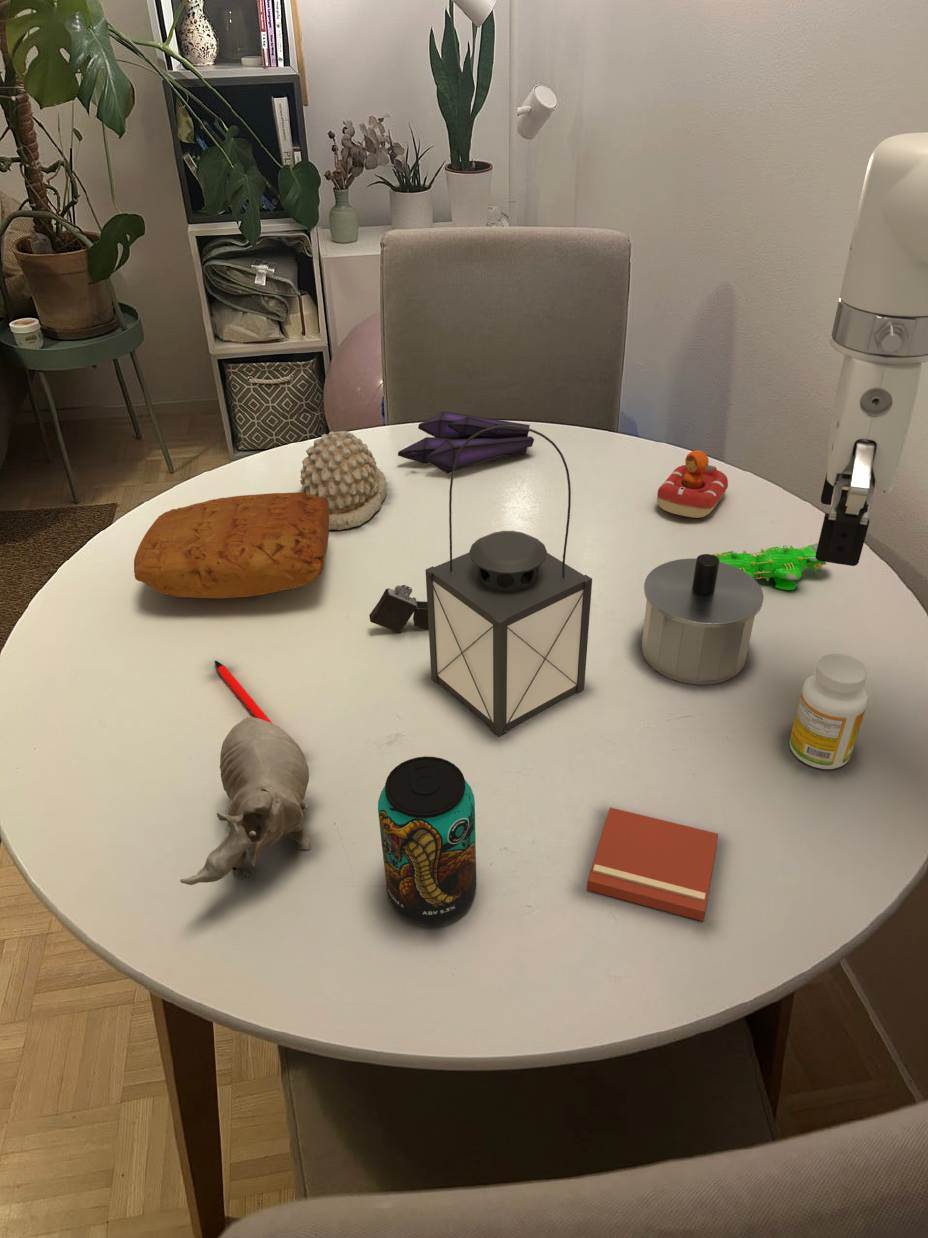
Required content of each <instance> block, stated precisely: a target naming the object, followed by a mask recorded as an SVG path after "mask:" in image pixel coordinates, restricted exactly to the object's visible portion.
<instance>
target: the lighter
mask: <svg viewBox="0 0 928 1238" xmlns="http://www.w3.org/2000/svg"><path fill="white" fill-rule="evenodd" d="M412 593H413V588H412V587H411V586H408V585H406V584H402V585H396V586H395V587H394V589H393V588H390V587H388V588H386V589H385V590H384V592H383V593H382V595H381V597H380V599H379V601H378V602H377V603H376V605H375V606H374V607H373V609H372V610H371V612H370V613H369V615H368V616H369V622H370V623H372V624H375V625H378V626H380V627H383V628H385V629H388V630H391V631H393V632H396V633H397V634H400V633H401V632H402V631H403V629H404V628H405V626H406V625H407V624H408V622H409V620H410V619H411V618H412V621H413V626H415V627H417V628H421V629H428V630H429V625H428V607H427V600H426V601H421V600H420V601H419V600H417V598H416V597H411V594H412ZM412 616H413V617H412Z"/></svg>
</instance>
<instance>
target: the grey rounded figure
mask: <svg viewBox="0 0 928 1238" xmlns="http://www.w3.org/2000/svg"><path fill="white" fill-rule="evenodd" d="M219 755H220V756H219V758H220V759H219V760H220V762H219V764H220V765H219V769H220V779H221V785H222V788H223V790H224V791H225V793H226V796H227V797H228V799H229V800H230V804H229V806H228V808H227V814H225V813H223V812H217V813H216V817H217V818H218V820H219V821H221V822H226V825H227V827H228V833H227V835H226V837H225V839H224V840H223V841H222V842H221V843H220V844H219V845H218V846H217V847H216V848H214V849H213V850H211V852H210V853H209V854H208V856H207V857H206V860H205V863H204V865H203V867H202V868H201V869H200V870H199V871H198V872H197V874H194V875H191V876H189V877H187V878H180V880H179V882H180V883H181V884H185V885H189V886H194V885H196V884H200V883H214V882H217V881H219V880H221V879H223V878H225V876H228V874H229V873H230V872H231V873H232V874H233V875H234V876H235V878H236V879H239V880H241V879H242V880H243V879H250V877H249V876H248V875H250V874H251V873H250V872H249V871H247V869H245V867H244V864H245V861H246V859H247V853H248V857H249V860H250V862H251V864H252V866H253V867H255V866H256V864H257V862H258V860H259V857H260V855H261V852H262V850H263V849H265V848H268V847H271V846H272V845H274V844H275V843H277V842H278V841H279V840H280V839H281V838H282V836H283V835H284V834H289V833H290V835H291V836H290V837H291V839H292V840H293V841H296V842H297V843H298V844H297V845H295V848H296V849H297V850H311V849H312V843H311V839H309V837H307V835H306V833H305V832H304V830H305V827H304V826H303V822H304V813H305V812H306V810H307V809H308V807H309V805H308V803H306V801H304V799H305V797H306V792H307V790H308V785H309V780H310V771H309V769H310V768H309V765H308V763H307V760H306V757H305V753H304V752H303V750H302V749H301V747H300V745H299V744H298V743H297V742H296V741H295V740H294V738H292V736H291V735H289V734H288V732H286V731H285V730H284V729H283V728H281V727H280V726H278V725H277V724H274V723H273V722H272V723H270V722H268V721H265V720H262V719H258V718H256V717H255V716H249V717H245V718H243V719H242V720H241V721H240V722H238V723H236V724H234V726H233V727H232V728H231V729H230V731H228V733H227V735H226V736H225V738H224V740H223V741H222V745H221V747H220V753H219ZM247 851H249V852H247Z"/></svg>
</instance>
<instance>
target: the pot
mask: <svg viewBox="0 0 928 1238" xmlns="http://www.w3.org/2000/svg"><path fill="white" fill-rule="evenodd" d="M644 611H645V612H644V619H643V620H644V621H643V629H642V636H641V637H642V638H641V651H642V655H643V658H644V661H646V663H647V664H648V665H649V666H650V667H651V668H652V669H653V670H654V671H656V672H657V673H659V674H660V675H662V676H664V677H665V678H668V679H670V680H673V681H676V682H679V683H682V684H683V683H684V684H688V685H697V686H708V685H716V684H721V683H725V682H727V681H729V680H731V679H733V678H735V677H736V676H737V675H739V674H740V673H741V671H742V670H743V668H744V667H745V664H746V661H747V656H748V652H749V646H750V641H751V636H752V632H753V627H754V623H755V622H754V621H755V616H756V615H755V616H754V617H753V618H751V619H750V620H748V621H746V622H744V623H741V624H738V625H734V626H729V627H720V628H707V627H698V626H692V625H687V624H684V623H681V622H678V621H675V620H672V619H670V618H668V617H666V616H664V615H663V614H661V613H660V612H658V611H657V610H656V609H654V608H653V607H652V606H651V605H650V603H649V602H648V600H647V599H646V602H645V610H644Z"/></svg>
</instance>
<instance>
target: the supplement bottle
mask: <svg viewBox="0 0 928 1238" xmlns="http://www.w3.org/2000/svg"><path fill="white" fill-rule="evenodd" d="M867 676H868V670H867V668H866V666H865V665H864V664H863V662H861V661H859V660H858V659H856V658H855V657H852V656H849V655H846V654H839V653H832V654H827V655H824V656H823V657H821V658H820V659H819V661H818V662H817V666H816V669H815V673H813V674H812V675H810V676H809V677H807V679H806V680H805V681H804V683H803V686H802V689H801V693H800V696H799V701H798V704H797V709H796V713H795V716H794V721H793V723H792V728H791V732H790V737H789V747H790V750H791V752H792V753H793V755H794V756H795V757H796V758H797V759H798V760H800V761H801V762H802V763H804V764H806V765H808V766H811V767H813V768H817V769H822V770H834V769H838V768H840V767H842V766H844V765H846V764H847V763H848V762H849V761H850V759H851V756H852V753H853V751H854V747H855V744H856V740H857V738H858V734H859V731H860V728H861V725H862V722H863V719H864V716H865V712H866V709H867V706H868V700H869V696H868V692H867V690H866V688H865V687H864V686H865V684H866V680H867Z"/></svg>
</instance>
